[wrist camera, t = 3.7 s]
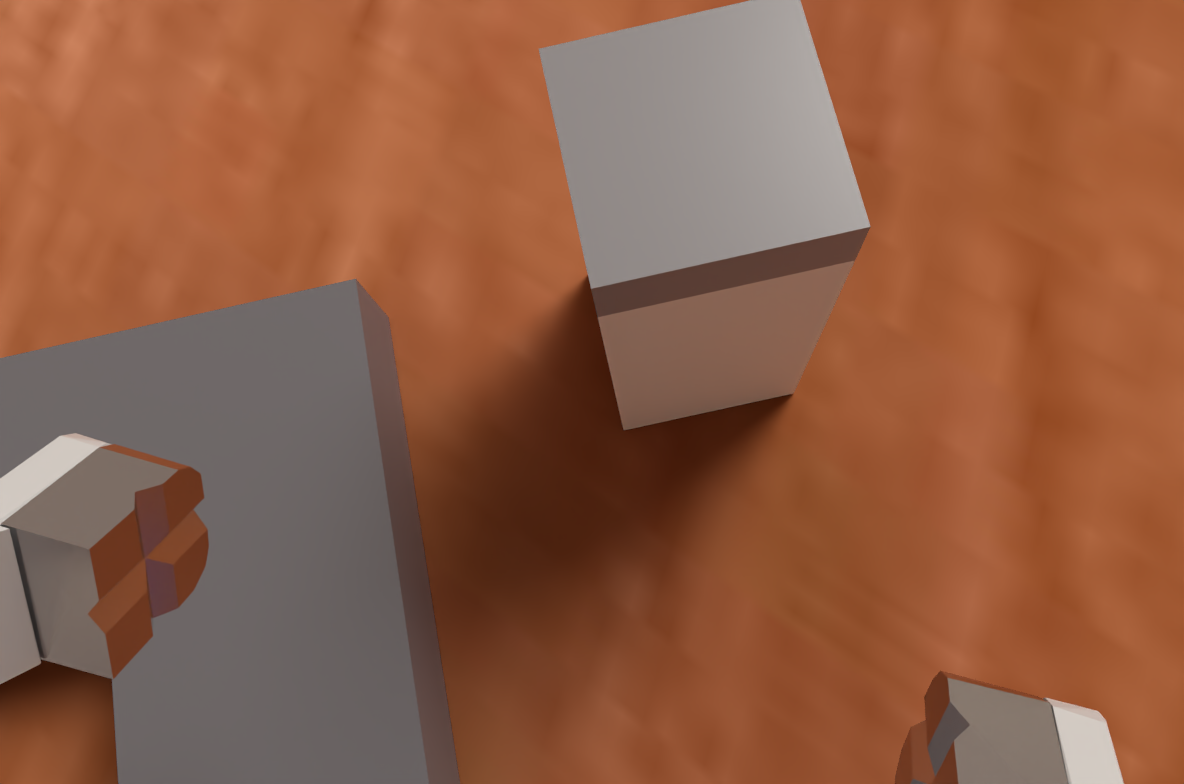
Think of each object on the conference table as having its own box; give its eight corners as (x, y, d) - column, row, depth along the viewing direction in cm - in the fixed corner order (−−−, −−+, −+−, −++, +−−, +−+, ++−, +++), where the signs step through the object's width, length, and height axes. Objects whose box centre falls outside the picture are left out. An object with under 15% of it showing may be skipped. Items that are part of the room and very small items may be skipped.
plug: (751, 237, 23) (797, -11, 14) (793, 393, 22) (870, 226, 13) (589, 273, 23) (538, 49, 15) (623, 430, 22) (590, 289, 14)
